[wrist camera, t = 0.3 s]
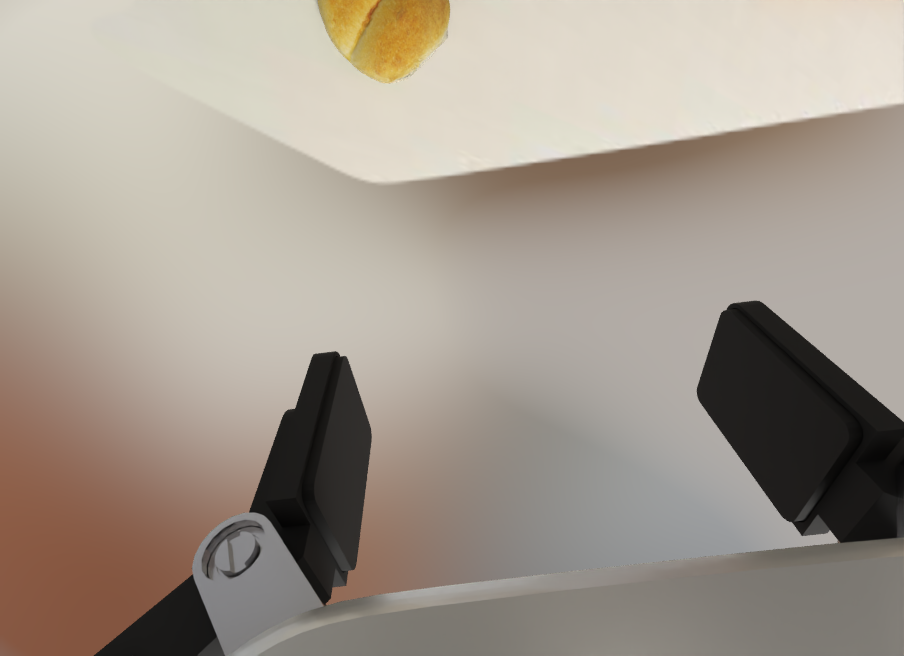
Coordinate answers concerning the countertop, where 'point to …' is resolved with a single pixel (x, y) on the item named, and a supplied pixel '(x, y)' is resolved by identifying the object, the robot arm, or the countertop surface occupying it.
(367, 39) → the bread roll
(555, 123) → the countertop surface
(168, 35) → the countertop surface
